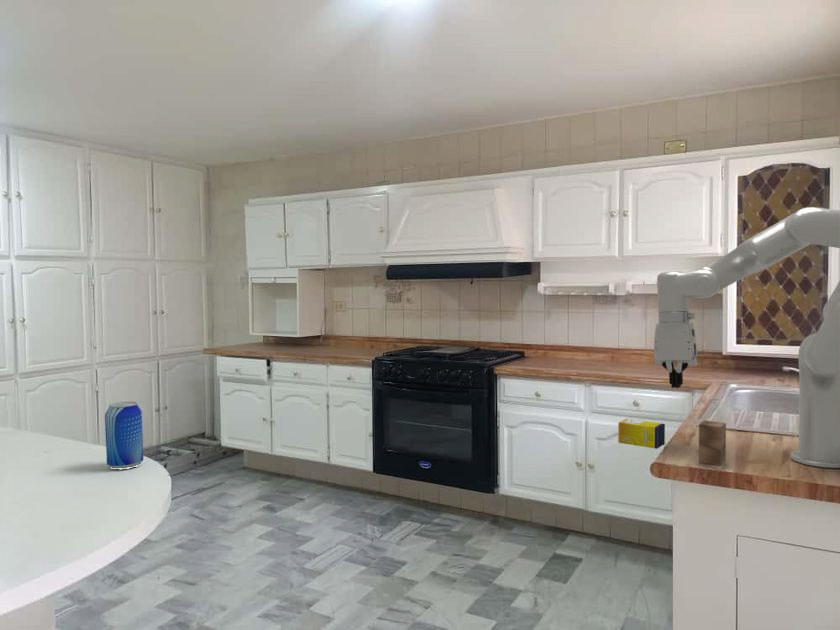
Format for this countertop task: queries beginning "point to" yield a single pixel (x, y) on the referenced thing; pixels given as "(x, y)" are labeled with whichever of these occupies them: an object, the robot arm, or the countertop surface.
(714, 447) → the walnut block
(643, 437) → the supplement box
